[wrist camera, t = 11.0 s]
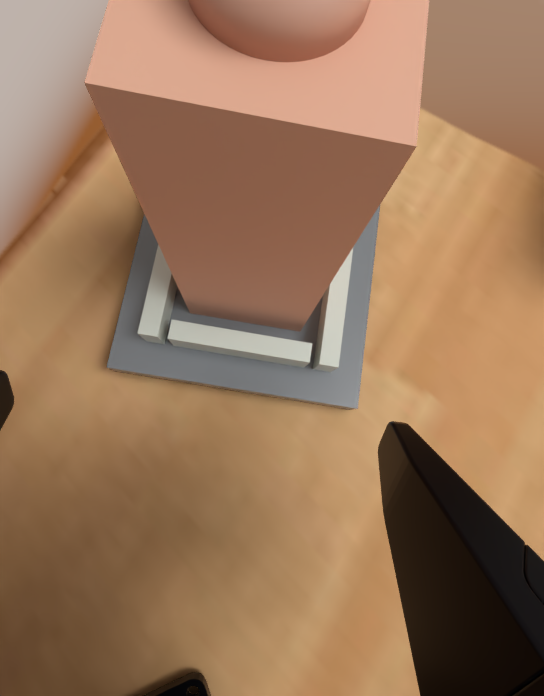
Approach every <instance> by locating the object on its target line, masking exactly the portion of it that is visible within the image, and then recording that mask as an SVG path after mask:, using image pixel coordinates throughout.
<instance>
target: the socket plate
mask: <svg viewBox="0 0 544 696" xmlns="http://www.w3.org/2000/svg"><path fill="white" fill-rule="evenodd" d="M379 210H380V205H379V207H378V208H377V210H376V212H375V213H374V215H373V216H372V218H371V220H370V221H369V223H368V224H367V226H366V228H365V229H364V231H363V232H362V234H361V236H360V237H359V239H358V240H357V242H356V244H355V245H354V247H353V248H352V250H351V251H350V253H349V255H348V256H347V258H346V259H345V261H344V263H343V264H342V266H341V267H340V269H339V271H338V272H337V274H336V275H335V277H334V279H333V280H332V282H331V283H330V285H329V286H328V288H327V290H326V291H325V293H324V294H323V296H322V298H321V299H320V301H319V302H318V304H317V306H316V307H315V309H314V310H313V312H312V314H311V315H310V317H309V318H308V320H307V321H306V323H305V325H304V326H303V328H302V329H301V331H300V332H299V331H293V330H287V329H281V328H275V327H269V326H263V325H257V324H251V323H245V322H239V321H234V320H228V319H222V318H216V317H210V316H204V315H198V314H192V313H190V312H189V310H188V308H187V306H186V303H185V301H184V299H183V297H182V295H181V292H180V290H179V288H178V286H177V284H176V282H175V279H174V277H173V275H172V273H171V271H170V268H169V266H168V264H167V262H166V260H165V258H164V255H163V253H162V251H161V249H160V247H159V244H158V242H157V240H156V238H155V236H154V234H153V231H152V229H151V227H150V225H149V223H148V220H147V218H146V216H145V214H144V217H143V221H142V225H141V229H140V233H139V237H138V242H137V246H136V250H135V254H134V258H133V262H132V266H131V270H130V274H129V278H128V282H127V286H126V290H125V294H124V298H123V302H122V306H121V311H120V315H119V319H118V323H117V327H116V331H115V335H114V339H113V343H112V347H111V351H110V355H109V359H108V363H107V368H109V369H111V370H114V371H117V372H123V373H129V374H135V375H141V376H148V377H154V378H160V379H166V380H172V381H178V382H184V383H190V384H196V385H202V386H209V387H215V388H221V389H227V390H233V391H239V392H245V393H251V394H257V395H263V396H270V397H276V398H282V399H288V400H294V401H300V402H306V403H312V404H318V405H324V406H331V407H337V408H343V409H349V410H352V409H358V400H359V391H360V382H361V373H362V364H363V355H364V346H365V337H366V328H367V319H368V310H369V301H370V292H371V283H372V274H373V265H374V256H375V246H376V237H377V228H378V219H379Z"/></svg>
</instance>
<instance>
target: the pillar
mask: <svg viewBox="0 0 544 696" xmlns="http://www.w3.org/2000/svg"><path fill="white" fill-rule="evenodd" d="M428 9H429V0H109V2H108V5H107V8H106V12H105V15H104V19H103V22H102V25H101V29H100V32H99V35H98V39H97V42H96V45H95V49H94V52H93V55H92V59H91V62H90V65H89V69H88V73H87V76H86V79H85V85H86V87H87V90H88V92H89V94H90V96H91V98H92V100H93V103H94V105H95V107H96V109H97V111H98V113H99V115H100V117H101V120H102V122H103V124H104V127H105V129H106V131H107V133H108V135H109V138H110V140H111V142H112V144H113V146H114V148H115V151H116V153H117V155H118V157H119V159H120V162H121V164H122V166H123V168H124V170H125V172H126V175H127V177H128V179H129V181H130V183H131V186H132V188H133V190H134V192H135V194H136V196H137V199H138V201H139V203H140V205H141V207H142V210H143V212H144V214H145V216H146V218H147V220H148V223H149V225H150V227H151V229H152V231H153V234H154V236H155V238H156V240H157V242H158V244H159V247H160V249H161V251H162V253H163V255H164V258H165V260H166V262H167V264H168V266H169V268H170V271H171V273H172V275H173V277H174V279H175V282H176V284H177V286H178V288H179V290H180V292H181V295H182V297H183V299H184V301H185V303H186V306H187V308H188V310H189V312H190V313H192V314H198V315H204V316H210V317H216V318H222V319H228V320H234V321H239V322H245V323H251V324H257V325H263V326H269V327H275V328H281V329H287V330H293V331H299V332H300V331H301V329H302V328H303V326H304V325H305V323H306V321H307V320H308V318H309V317H310V315H311V314H312V312H313V310H314V309H315V307H316V306H317V304H318V302H319V301H320V299H321V298H322V296H323V294H324V293H325V291H326V290H327V288H328V286H329V285H330V283H331V282H332V280H333V279H334V277H335V275H336V274H337V272H338V271H339V269H340V267H341V266H342V264H343V263H344V261H345V259H346V258H347V256H348V255H349V253H350V251H351V250H352V248H353V247H354V245H355V244H356V242H357V240H358V239H359V237H360V236H361V234H362V232H363V231H364V229H365V228H366V226H367V224H368V223H369V221H370V220H371V218H372V216H373V215H374V213H375V212H376V210H377V208H378V207H379V205H380V204H381V202H382V201H383V199H384V197H385V196H386V194H387V193H388V191H389V189H390V188H391V186H392V185H393V183H394V181H395V180H396V178H397V177H398V175H399V173H400V172H401V170H402V169H403V167H404V166H405V164H406V162H407V161H408V159H409V158H410V156H411V154H412V153H413V151H414V150H415V148H416V146H417V135H418V124H419V112H420V100H421V89H422V77H423V66H424V55H425V43H426V31H427V20H428Z"/></svg>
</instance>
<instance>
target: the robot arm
mask: <svg viewBox="0 0 544 696" xmlns="http://www.w3.org/2000/svg"><path fill="white" fill-rule="evenodd" d="M13 405H14V396H13V392H12V389H11V385H10V382H9V378H8V375H7V374H6V372H4V371H2V370H0V430H1V428H2V426H3V425H4V423H5V421H6V419H7V417H8V415H9V413H10V412H11V410H12V408H13ZM378 459H379V471H380V482H381V494H382V505H383V513H384V519H385V524H386V529H387V534H388V539H389V544H390V549H391V554H392V559H393V564H394V569H395V573H396V578H397V583H398V588H399V593H400V598H401V603H402V608H403V613H404V618H405V622H406V627H407V632H408V637H409V642H410V647H411V652H412V657H413V662H414V667H415V671H416V676H417V681H418V686H419V691H420V696H544V561H543V560H542V559H541V558H540V557H539V556H538V555H537V554H536V553H535V552H534V551H533V550H532V549H531V548H530V547H529V546H528V545H525V542H524V541H523V540H522V539H521V538H520V537H519V536H518V535H517V534H516V533H515V532H514V531H513V530H512V529H511V528H510V527H509V526H508V525H507V524H506V523H505V522H504V521H503V520H502V519H501V518H500V517H499V516H498V515H497V514H496V513H495V511H494V510H493V509H492V508H491V507H490V506H489V505H488V504H487V503H486V502H485V501H484V500H483V499H482V498H481V497H480V496H479V495H478V494H477V493H476V492H475V491H474V490H473V489H472V488H471V487H470V486H469V485H468V484H467V483H466V482H465V481H464V480H463V479H462V478H461V477H460V476H459V475H458V474H457V473H456V472H455V471H454V470H453V469H452V468H451V467H450V466H449V465H448V464H447V463H446V462H445V461H444V460H443V459H442V458H441V457H440V456H439V455H438V454H437V453H436V452H435V451H434V450H433V449H432V448H431V447H430V446H429V445H428V444H427V443H426V442H425V441H424V440H423V439H422V438H421V437H420V436H419V435H418V434H417V433H416V432H415V431H414V430H413V429H412V428H411V427H410V426H409V425H408V424H407V423H402V422H394V421H392V422H389V423H388V425H387V427H386V429H385V432H384V434H383V436H382V439H381V441H380V444H379V447H378ZM191 686H196V687H198V689H199V690H200V691H199V692H198V693H196V694H192V693H190V692H189V690H188V688H189V687H191ZM144 696H211V694H210V691H209V688H208V685H207V682H206V679H205V678H204V676H203V675H202V674H200V673H196V672H194V673H190V674H188V675H186V676H184V677H182V678H179V679H177V680H175V681H173V682H171V683H169V684H167V685H165V686H163V687H160V688H158V689H156V690H154V691H152V692H150V693H148V694H146V695H144Z"/></svg>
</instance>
